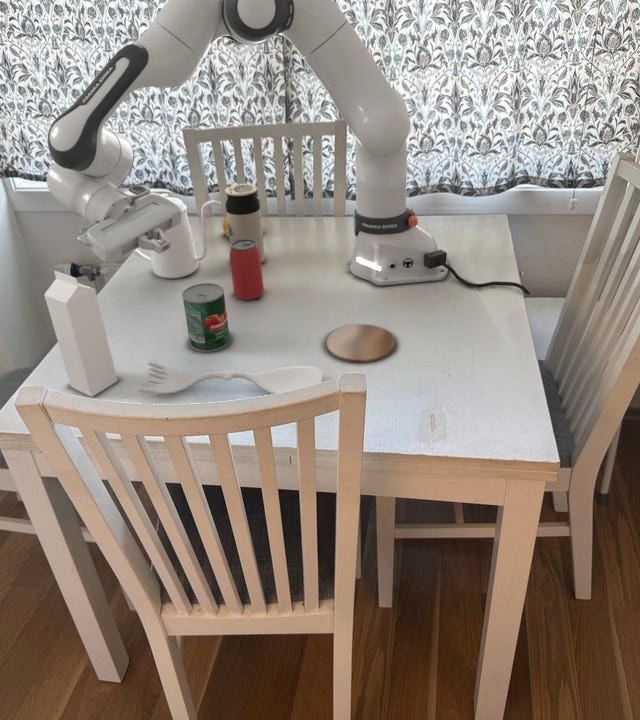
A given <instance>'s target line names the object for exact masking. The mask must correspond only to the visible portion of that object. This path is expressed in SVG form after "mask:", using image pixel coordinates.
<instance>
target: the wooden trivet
mask: <svg viewBox="0 0 640 720" xmlns="http://www.w3.org/2000/svg"><path fill="white" fill-rule="evenodd" d="M395 345H396V342H395V338H394V336H393V334H391V333H390V332H389V331H388V330H386V329H384V328H382V327H379V326H375V325H368V324H352V325H347V326H343V327H340V328H338V329H336V330H334V331H333V332H331V333H330V334H329V336H328V337H327V339H326V349H327V350H328V352H329V353H330V354H331V355H332V356H333V357H335V358H337V359H338V360H341V361H345V362H350V363H361V364H362V363H370V362H375V361H379V360H382V359H384V358H386V357H387V356H389V355H390V354H391V353H392V352H393V350H394V349H395Z"/></svg>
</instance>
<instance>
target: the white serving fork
mask: <svg viewBox="0 0 640 720" xmlns="http://www.w3.org/2000/svg"><path fill="white" fill-rule="evenodd" d="M148 365H149V366H150V367H149V368H148V370H149V371H150V372H147V374H148V375H149V376H150V377H147V378H146V380H147V381H148V382H143V383H142V384H143V385H140V387H137V388H136V391H137V392H139V393H141V394H172V393H178V392H182V391H184V390H186V389H188V388H190V387H193V386H194V385H196V384H198V383H200V382H203V381H205V380H210V379H223V380H225V381H232V380H233V379H243V380H247V381H250V382H252V383H253V384H254V385H255V386H257V387H258V388H260V389H262V390H264V391H266V392H267V393H269V394H272V395H274V394H273V393H279V392H284V391H288V390H292V389H295V388H300V387H305V386H309V385H313V384H316V383H320V382H323V383H324V380H325V374H324V371H323V370H322V369H321V368H319V367H317V366H311V365H294V366H293V365H291V366H283V367H276V368H272V369H267V370H262V371H257V372H245V371H236V370H234V369H233V368H228V369H226V370H220V371H208V372H204V373H200V374H198V375H195V376H193V375H192V376H191V375H188V374H186V373H185V372H184V371H182V370H179V369H176V368H172V367H170V366H166V365H165V364H161V363H160V362H159V363H158V362H156V361H150V362H148Z"/></svg>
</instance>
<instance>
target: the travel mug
mask: <svg viewBox="0 0 640 720" xmlns="http://www.w3.org/2000/svg"><path fill="white" fill-rule="evenodd" d="M257 191H258V187H257V185H255V184H252V183H236V184H233V185H230V186H227V187H225V189H224V193H225V194H226V197H227V198H226V201H225V212H226V218H227V221H228V230H229V237H228V238H229V246H230V247H231V244H232V243H233V242H235V241H237V240H242V239H250V240H254V241H256V243H257V246H258V248H259V250H260V256H261V263H263V262H264V261H265V259H266V256H265V247H264V246H265V245H264V236H263V235H264V234H263V232H262V224H263V222H262V212H261V211H262V210H261V201H260V199H259V198H258V196H257Z"/></svg>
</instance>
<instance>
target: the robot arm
mask: <svg viewBox="0 0 640 720" xmlns="http://www.w3.org/2000/svg"><path fill="white" fill-rule="evenodd" d="M278 35H279V36H282V37H284V38H285V39H287V41H289V42H290V43H291V44H292V45H293V46H294V48H295V49H296V51H297V52H298V54H299V55H300V56H301V58H302V59H303V60H304V62H305V63H306V65H307V67H308V68H309V69H310V70H311V71H312V74H313V75H314V76H315V77H316V79H317V81H318V82H319V83H320V84H321V86H322V87H323V89H325V91H326V92H327V94H328V96H329V98H330V99H331V101H332V103H333V104H334V106H335V108H336V109H337V111H338V112H339V114H340V116H341V117H342V119H343V120H344V122H345V124H346V125H347V127H348V128H349V130H350V132H351V133H352V134H353V136H354V137H355V142H354V143H355V209H354V212H353V232H354V247H353V253H352V258H351V261H350V265H349V271H350V272H351V273H352V275H354V276H356V277H357V278H360V279H363V280H366V281H369V282H371V283H373V284H374V285H376V286H390V285H393V286H394V285H403V284H412V283H423V282H434V281H441V280H444V279H445V278H446V277H447V275H448V273H449V272H450V273H451V274H452V275H453V277H454V278H455V279H456V280H457V281H458V282H460V283H461V284H463V285H465V286H467V287H471V288H478V289H479V288H481V289H482V288H487V287H491V286H510V287H516V288H518V289H520V290H521V291H522V292H524V294H526V295H530V294H531V292H530V291H529V290H528V289H527V288H526V287H525V286H524V285H522V284H520V283H518V282H514V281H489V282H483V283H474V282H469V281H467V280H465V279H464V278H462V277H461V276H460V275H459V274H458V273H457V271H456V270H455V269H454V268H453V267H452V266H450V265H449V264H448V261H447V257H448V252H447V251H444V250H442V249H439V248H438V245H437V242H436V240H435V238H434V236H432V235H431V234H430V233H429V232H427V231H425V229H423V228H421V227H420V226H418V223H419V219H418V217H417V216H416V213H415V211H414V208H413V207H412V206H411V207H410V208H409V207H408V206H407V191H408V190H407V189H408V188H407V187H408V160H407V159H408V156H407V155H408V154H407V153H408V152H407V150H408V149H407V148H408V147H407V145H408V144H407V141H408V139H409V137H410V133H411V126H412V125H411V119H410V115H409V110H408V108H407V103H406V101H405V99H404V96H403V95H402V94H401V93H400V92H399V91H398V90H397V89H395V88H393V87H392V86H391V84H390V83H389V81H388V80H387V77H385V75H384V74H383V72H382V70H381V69H380V67H379V65H378V63H377V62H376V60H375V59H374V56H373V55H372V53H371V52H370V51H369V49H368V48H367V46H366V44H365V43H364V42H363V40H362V39H361V37H360V36H359V34H358V33H357V31H356V30H355V29H354V27H353V25H352V24H351V23H350V21H349V19H348V18H347V16H346V15H345V14H344V12H343V11H342V9H340V7H339V6H338V5H337V4H336V3H335V1H334V0H167V1H166V2H165V4H164V5H163V6H162V7H161V9H160V10H159V12H158V13H157V15H156V16H155V18H154V19H153V21H152V22H151V23H150V25H149V26H148V27H147V29H146V30H145V32H144V33H142V35H141V36H139V38H137V39H136V40H135V41H133V42H132V43H130V44H126V45H125V46H123V47H122V48H121V49H119V50H118V51H117V52H116V53H115V54H114V55H113V56H112V57H111V59H110V60H109V61H107V63H106V64H105V65H104V67H102V69H101V70H100V71H99V73H98V74H97V75H96V76H95V77H94V79H93V80H92V81H91V82H90V83H89V85H88V86H87V87H86V89H85V90H84V91H83V92H82V93H81V95H79V97H78V98H77V99H76V101H75V102H74V103H73V104H72V105H71V106H69V108H67V109H66V110H65V111H63V112H62V113H61V114H60V115H58V116H57V117H56V119H55V120H54V121H52V123H51V125H50V127H49V130H48V133H47V147H48V151H49V154H50V157H51V158H52V160H53V161H54V162H53V163H52V164H51V166H50V167H49V169H48V171H47V174H46V186H47V188H48V191H49V193H50V194H51V196H52V197H53V198H54V199H55V200H56V201H57V202H58V203H59V204H60V205H62V206H63V207H64V208H66V209H67V210H68V211H69V212H70V213H72V214H74V215H75V216H78V217H81V218H83V219H84V220H85V221H86V222H87V224H89V225H88V226H87V227H84V228H82V229H80V230H79V231H78V234H77V240H78V241H79V242H80V243H81V244H83V245H84V246H86V247H88V249H89V250H90V251H91V252H92V253H93V254H94V255H95V256H96V257H97V258H98V259H100V260H101V261H103V263H107V264H114V263H115V262H117V261H118V260H120V259H122V258H124V257H125V256H127V255H128V254H130V253H133V252H132V251H134V250H136V249H139V248H140V249H142V250H146V251H151V250H152V251H153V250H154V251H155V252H157V253H158V254H161V253H162V252H164V251H166V250H167V249H169V248H171V242H170V240H168V239H167V238H165V236H164V234H163V233H165V232H166V231H168V230H170V229H172V228H173V227H175V226H177V225H179V224H180V222H181V208H180V207H179V206H178V205H177V204H176V203H174V202H173V201H171V200H169V199H168V198H166V197H164V196H162V195H160V194H161V193H157V192H151V188H150V187H149V186H148V185H145V184H140V185H136V186H128V187H121V186H122V185H123V183H124V182H125V181H126V180H127V178H128V176H129V174H130V172H131V171H132V169H133V166H134V162H135V153H134V149H133V146H132V144H131V142H130V141H129V140H128V139H127V138H126V137H124V136H122V135H120V134H118V133H117V132H115V131H113V130H110V129H109V128H106V127H104V125H105V124H106V123H107V121H109V119H110V118H111V116H112V115H114V113H115V112H116V111H117V110H118V108H119V107H120V105H121V104H122V103H123V102H124V101H125V99H126V98H127V97H128V96H129V95H131V94H132V93H133V92H135V91H137V90H140V89H144V88H164V89H165V88H169V89H170V88H175V87H180V86H182V85H184V84H185V83H186V82H187V81H188V80H189V79H190V78H191V77H192V76H193V75H194V74H195V73H196V71H197V69H198V68H199V66H200V65H201V64H202V62H203V60H204V59H205V57H206V56H207V54H208V53H209V51H210V50H211V48H212V47H213V45H214V44H215V43H216V42H217V41H218V40H219V39H220V38H222V37H223V38H226V39H229V40H231V41H233V42H235V43H237V44H240V45H243V46H259V45H262V44H264V43H266V42H268V41H270V40H271V38H273V37H275V36H278ZM153 239H154V240H156V241H152V240H153ZM157 240H158V241H157Z"/></svg>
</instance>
